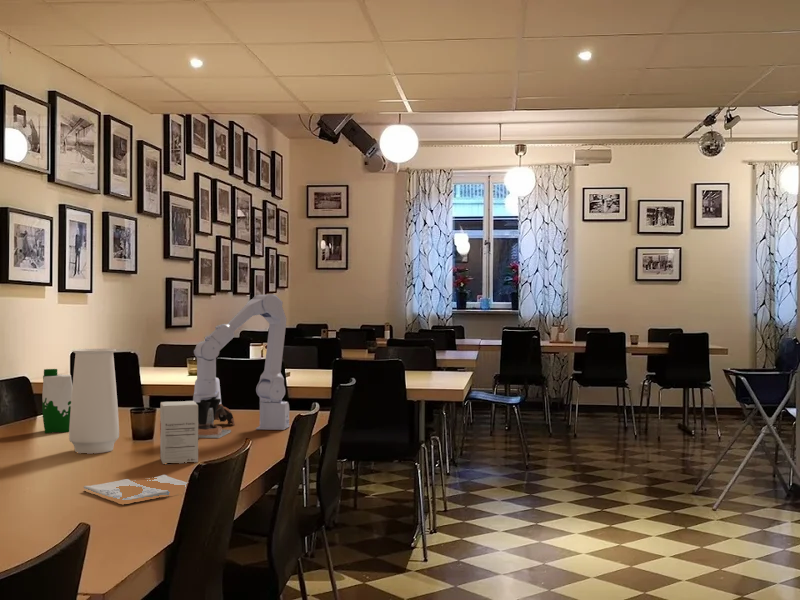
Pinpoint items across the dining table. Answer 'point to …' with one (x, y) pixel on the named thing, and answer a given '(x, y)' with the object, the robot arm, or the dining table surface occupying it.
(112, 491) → the white flat pieces
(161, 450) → the supplement box
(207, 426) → the grey cylinder
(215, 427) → the flange plate
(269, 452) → the dining table surface
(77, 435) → the vase
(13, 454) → the dining table surface
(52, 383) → the milk carton
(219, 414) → the pottery mug
